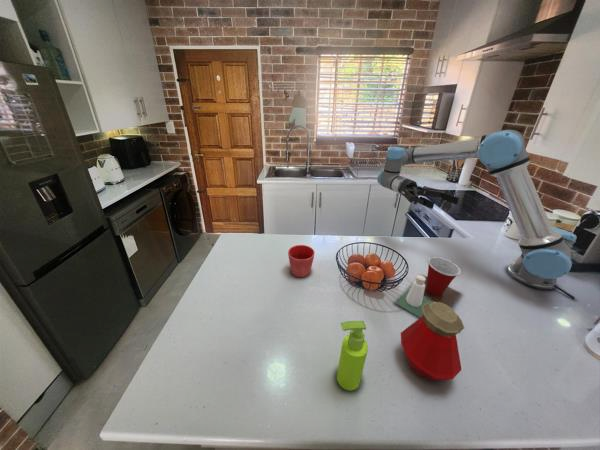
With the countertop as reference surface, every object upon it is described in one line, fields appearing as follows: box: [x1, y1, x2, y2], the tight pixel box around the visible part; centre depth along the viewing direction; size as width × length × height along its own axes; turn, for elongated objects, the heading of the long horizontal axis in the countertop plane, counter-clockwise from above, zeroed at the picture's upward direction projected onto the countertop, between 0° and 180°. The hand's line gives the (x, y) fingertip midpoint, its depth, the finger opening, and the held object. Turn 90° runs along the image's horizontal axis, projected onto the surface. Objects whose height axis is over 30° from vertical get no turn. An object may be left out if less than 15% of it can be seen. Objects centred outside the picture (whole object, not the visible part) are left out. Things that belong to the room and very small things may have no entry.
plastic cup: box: [426, 256, 462, 295], centre depth 92 cm, size 11×11×12 cm
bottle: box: [400, 301, 465, 382], centre depth 63 cm, size 16×14×20 cm
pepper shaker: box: [406, 275, 426, 307], centre depth 86 cm, size 5×5×11 cm
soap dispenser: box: [336, 320, 369, 392], centre depth 59 cm, size 6×7×20 cm
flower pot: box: [287, 244, 316, 278], centre depth 101 cm, size 11×11×10 cm
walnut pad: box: [423, 275, 461, 308], centre depth 95 cm, size 14×11×1 cm
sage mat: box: [395, 289, 434, 319], centre depth 87 cm, size 14×11×1 cm
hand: (445, 203), depth 95 cm, fingers open, 13 cm apart
